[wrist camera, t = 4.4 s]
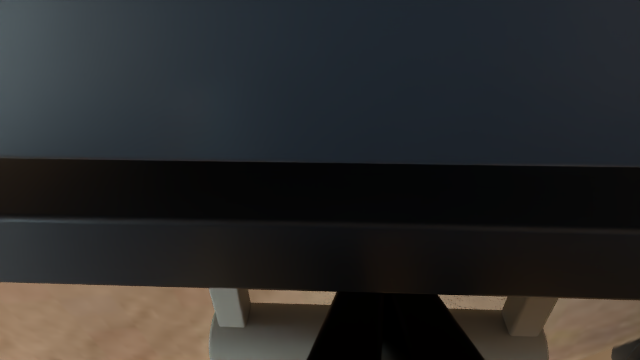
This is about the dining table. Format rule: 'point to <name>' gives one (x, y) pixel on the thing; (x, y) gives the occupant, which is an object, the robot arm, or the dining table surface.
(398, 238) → the drawer
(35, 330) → the dining table surface
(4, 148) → the cabinet
